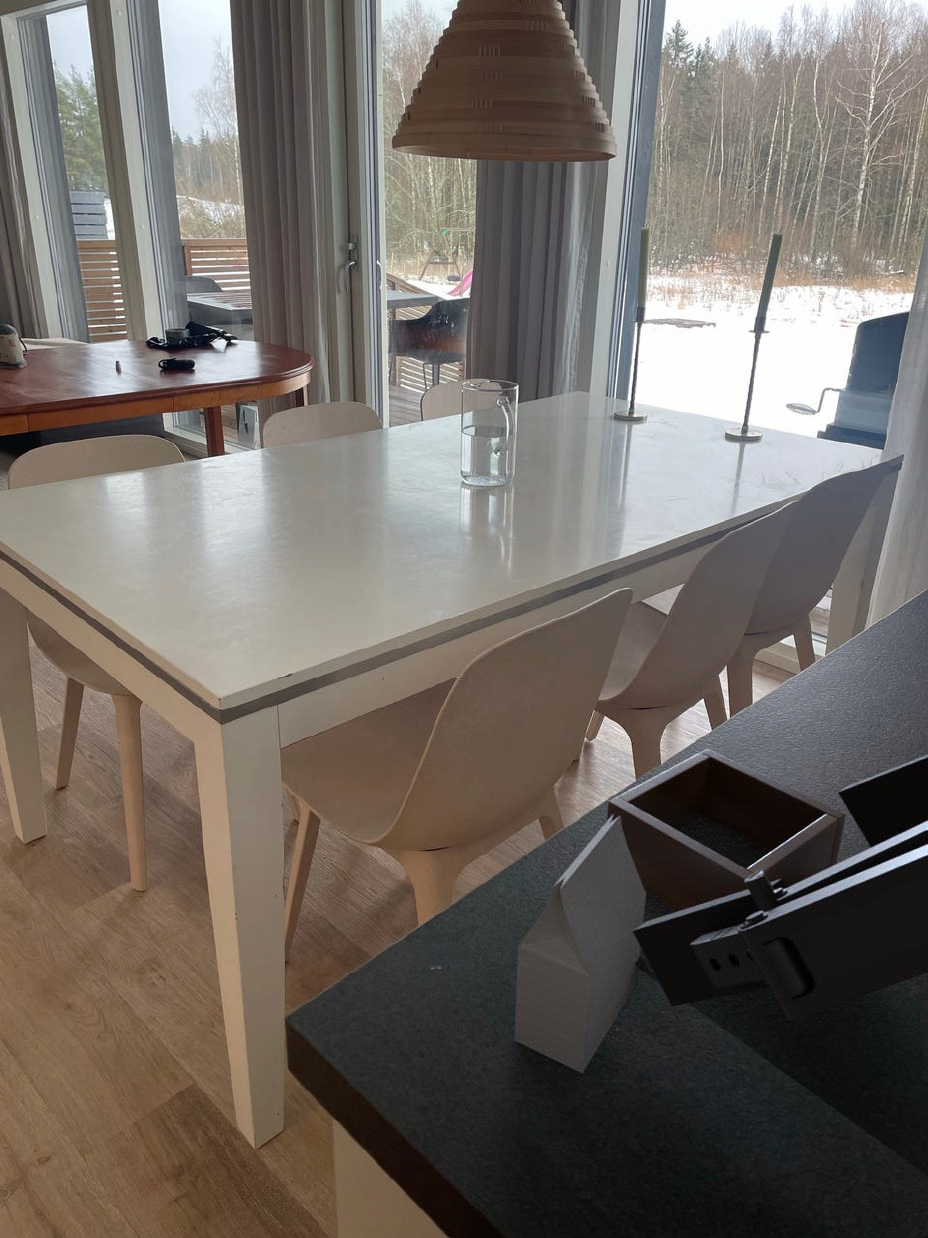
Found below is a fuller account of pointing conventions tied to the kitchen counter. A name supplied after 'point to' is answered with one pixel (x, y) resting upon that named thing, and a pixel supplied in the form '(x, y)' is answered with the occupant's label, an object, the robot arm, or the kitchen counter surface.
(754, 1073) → the kitchen counter surface
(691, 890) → the holder
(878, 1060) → the kitchen counter surface
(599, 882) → the white faceted block
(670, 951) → the robot arm
